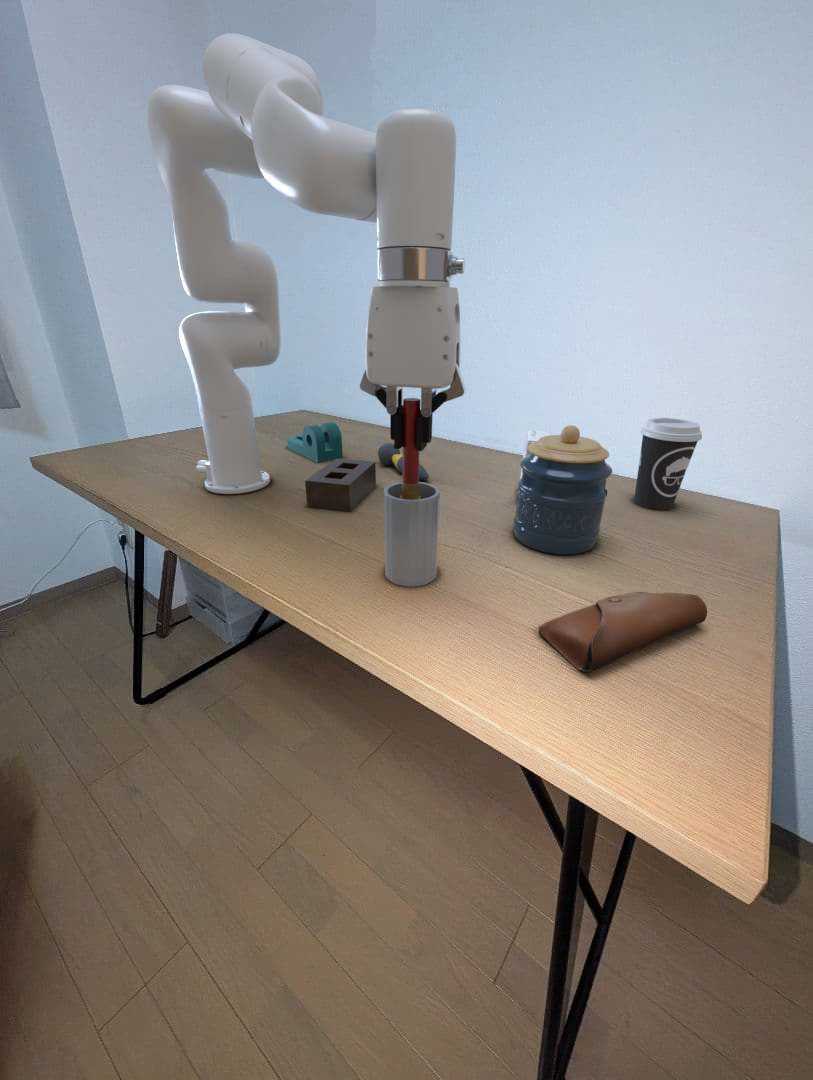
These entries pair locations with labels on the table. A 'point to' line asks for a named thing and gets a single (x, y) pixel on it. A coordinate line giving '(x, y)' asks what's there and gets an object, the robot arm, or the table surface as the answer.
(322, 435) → the bracket
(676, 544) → the table surface
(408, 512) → the grey cylindrical cup
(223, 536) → the table surface
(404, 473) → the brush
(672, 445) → the coffee cup
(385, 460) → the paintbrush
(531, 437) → the ink box
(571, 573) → the table surface
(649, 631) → the sunglasses case
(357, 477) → the holder
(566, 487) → the canister
